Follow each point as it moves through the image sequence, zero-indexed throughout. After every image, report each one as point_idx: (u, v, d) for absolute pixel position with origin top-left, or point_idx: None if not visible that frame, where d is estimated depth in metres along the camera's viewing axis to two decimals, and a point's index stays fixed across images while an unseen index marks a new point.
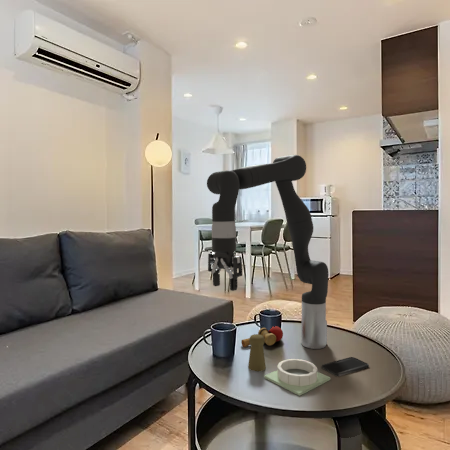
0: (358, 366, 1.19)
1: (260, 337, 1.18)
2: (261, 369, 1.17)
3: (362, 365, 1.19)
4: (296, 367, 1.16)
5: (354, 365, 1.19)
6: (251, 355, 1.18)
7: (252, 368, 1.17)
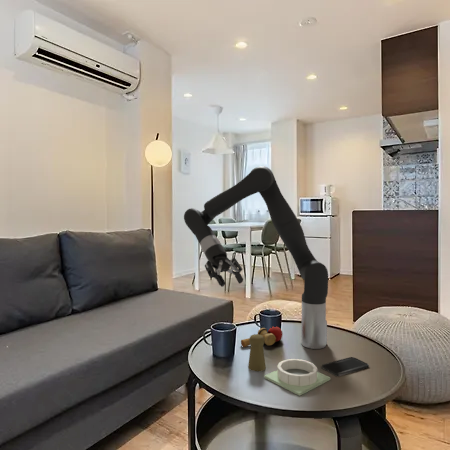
0: (358, 366, 1.19)
1: (260, 337, 1.18)
2: (261, 369, 1.17)
3: (362, 365, 1.19)
4: (296, 367, 1.16)
5: (354, 366, 1.19)
6: (251, 355, 1.18)
7: (252, 368, 1.17)
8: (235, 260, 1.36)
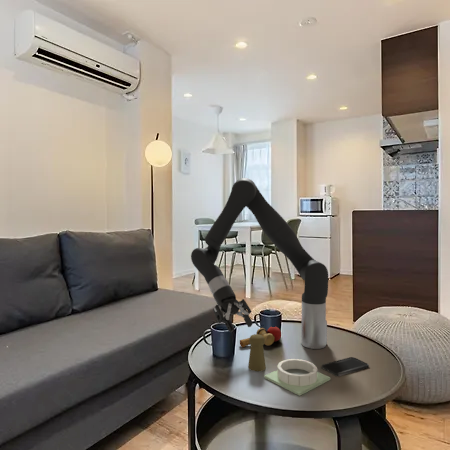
0: (358, 366, 1.19)
1: (260, 337, 1.18)
2: (261, 369, 1.17)
3: (362, 365, 1.19)
4: (296, 367, 1.16)
5: (354, 365, 1.19)
6: (251, 355, 1.18)
7: (252, 368, 1.17)
8: (244, 302, 1.33)
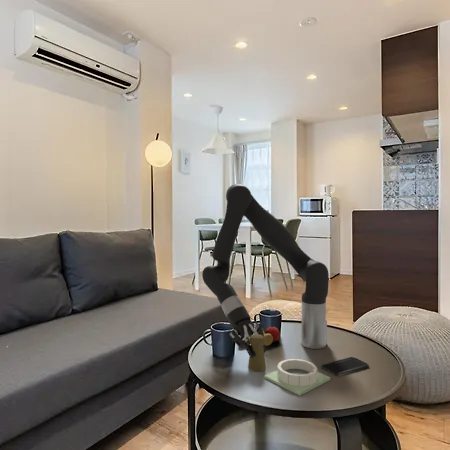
0: (358, 366, 1.19)
1: (260, 337, 1.18)
2: (261, 369, 1.17)
3: (362, 365, 1.19)
4: (296, 367, 1.16)
5: (354, 366, 1.19)
6: None
7: (252, 368, 1.17)
8: (260, 326, 1.26)
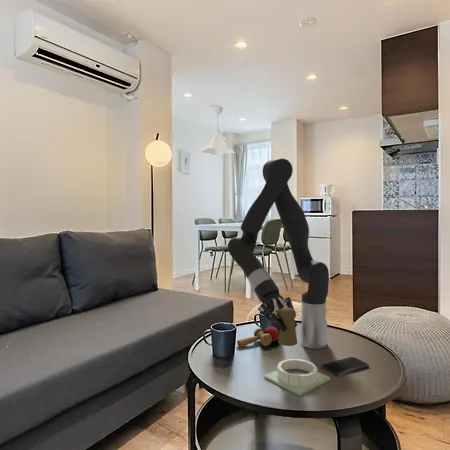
0: (358, 366, 1.19)
1: (291, 310, 1.11)
2: (293, 343, 1.10)
3: (362, 365, 1.19)
4: (296, 367, 1.16)
5: (354, 366, 1.19)
6: None
7: (283, 342, 1.11)
8: (289, 300, 1.20)
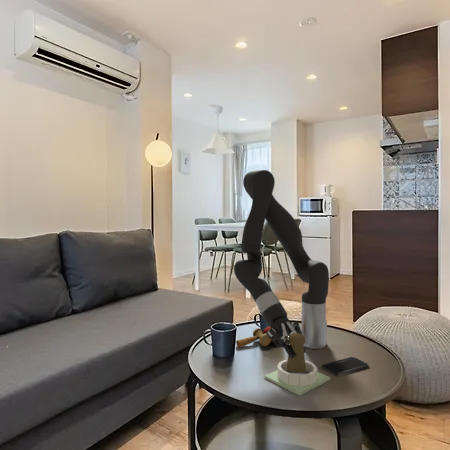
0: (358, 366, 1.19)
1: (301, 336, 1.10)
2: (302, 371, 1.09)
3: (362, 365, 1.19)
4: None
5: (354, 366, 1.19)
6: None
7: (292, 369, 1.09)
8: (297, 324, 1.18)
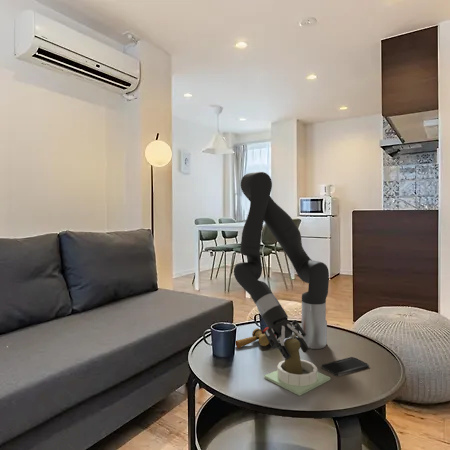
0: (358, 366, 1.19)
1: (296, 341, 1.11)
2: None
3: (362, 365, 1.19)
4: None
5: (354, 366, 1.19)
6: (287, 361, 1.11)
7: None
8: (297, 323, 1.19)
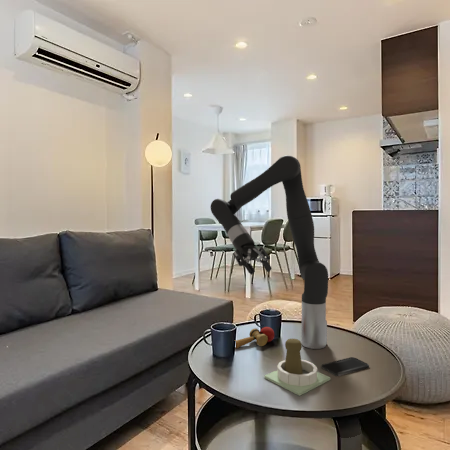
0: (358, 366, 1.19)
1: (297, 342, 1.11)
2: None
3: (362, 365, 1.19)
4: None
5: (354, 366, 1.19)
6: (287, 361, 1.11)
7: None
8: (262, 249, 1.37)
